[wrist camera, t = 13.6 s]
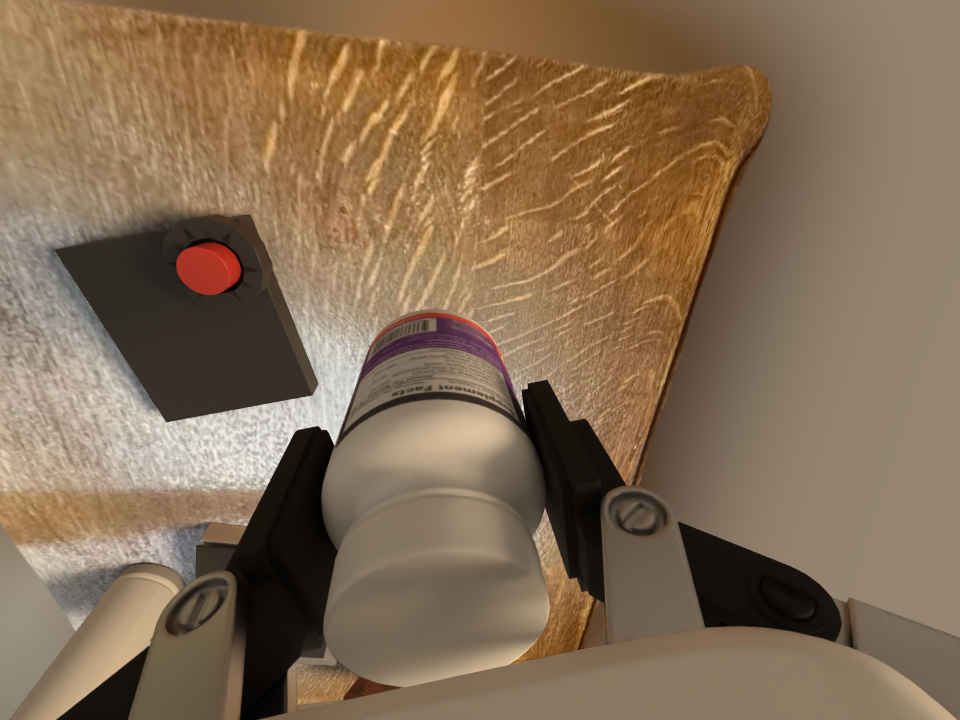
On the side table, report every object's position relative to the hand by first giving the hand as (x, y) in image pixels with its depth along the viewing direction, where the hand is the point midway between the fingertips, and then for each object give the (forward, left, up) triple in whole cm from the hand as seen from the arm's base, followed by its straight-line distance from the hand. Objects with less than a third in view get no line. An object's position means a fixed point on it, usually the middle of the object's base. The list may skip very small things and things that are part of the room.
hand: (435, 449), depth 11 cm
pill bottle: (0, 0, -5) cm, 5 cm away
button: (-3, -14, -19) cm, 23 cm away
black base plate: (+1, -18, -22) cm, 28 cm away
